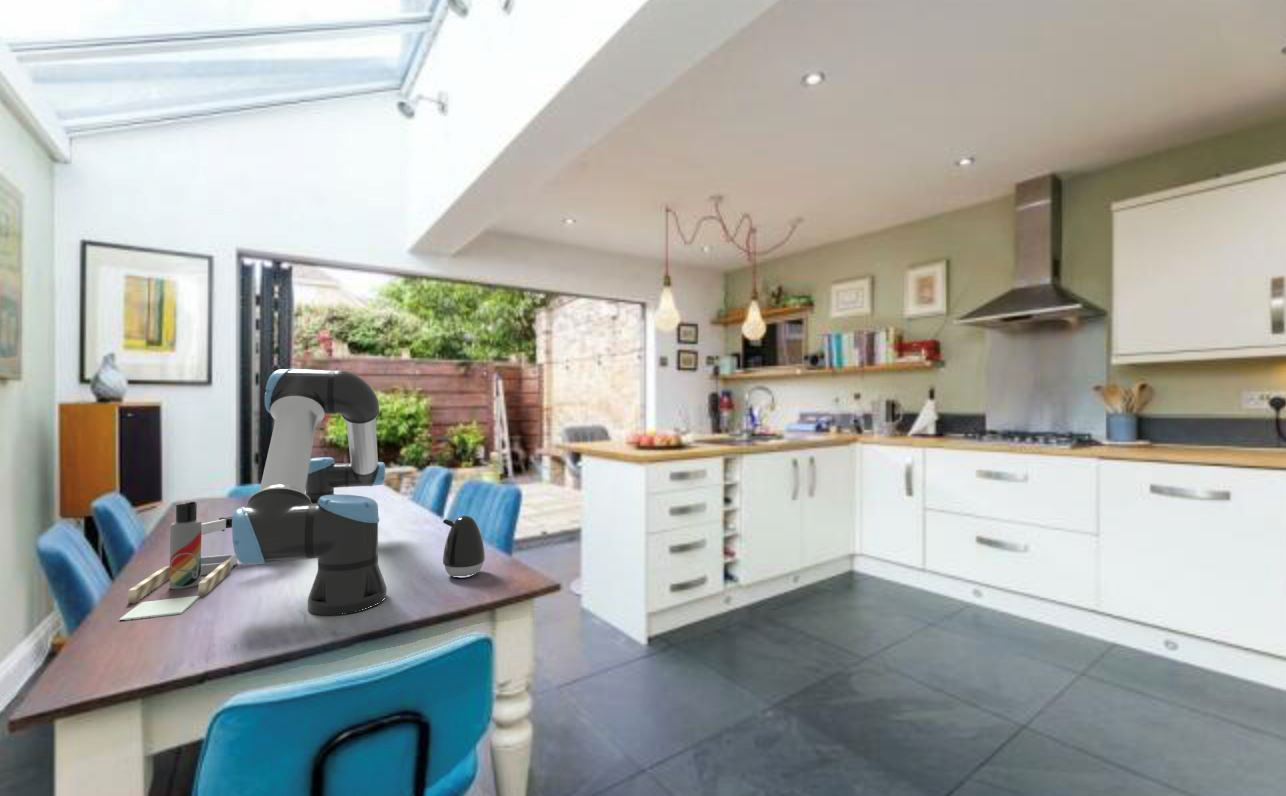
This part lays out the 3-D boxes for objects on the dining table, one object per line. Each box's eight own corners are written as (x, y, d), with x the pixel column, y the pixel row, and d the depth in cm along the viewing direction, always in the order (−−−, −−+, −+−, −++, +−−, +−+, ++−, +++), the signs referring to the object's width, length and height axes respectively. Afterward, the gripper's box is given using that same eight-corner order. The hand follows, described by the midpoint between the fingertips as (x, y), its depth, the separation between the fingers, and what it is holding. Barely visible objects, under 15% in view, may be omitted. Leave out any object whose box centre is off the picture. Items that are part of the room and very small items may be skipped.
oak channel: (205, 595, 121) (205, 582, 121) (128, 604, 116) (128, 590, 116) (230, 572, 138) (230, 560, 138) (163, 578, 133) (164, 566, 133)
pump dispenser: (448, 569, 141) (448, 511, 141) (488, 568, 142) (488, 511, 142) (436, 582, 131) (437, 520, 131) (480, 581, 132) (480, 519, 132)
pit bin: (226, 572, 138) (226, 562, 138) (167, 578, 133) (167, 568, 133) (237, 563, 146) (237, 553, 146) (182, 568, 141) (182, 558, 141)
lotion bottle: (186, 589, 125) (187, 504, 125) (162, 589, 125) (163, 503, 125) (206, 581, 131) (208, 499, 131) (183, 581, 131) (185, 499, 131)
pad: (181, 613, 111) (181, 611, 111) (118, 621, 107) (118, 619, 107) (199, 597, 120) (199, 595, 120) (142, 603, 116) (142, 602, 116)
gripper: (328, 529, 154) (260, 549, 134) (258, 524, 160) (182, 542, 139) (328, 503, 154) (261, 519, 134) (258, 499, 160) (183, 514, 139)
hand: (220, 531), depth 136 cm, fingers open, 13 cm apart
